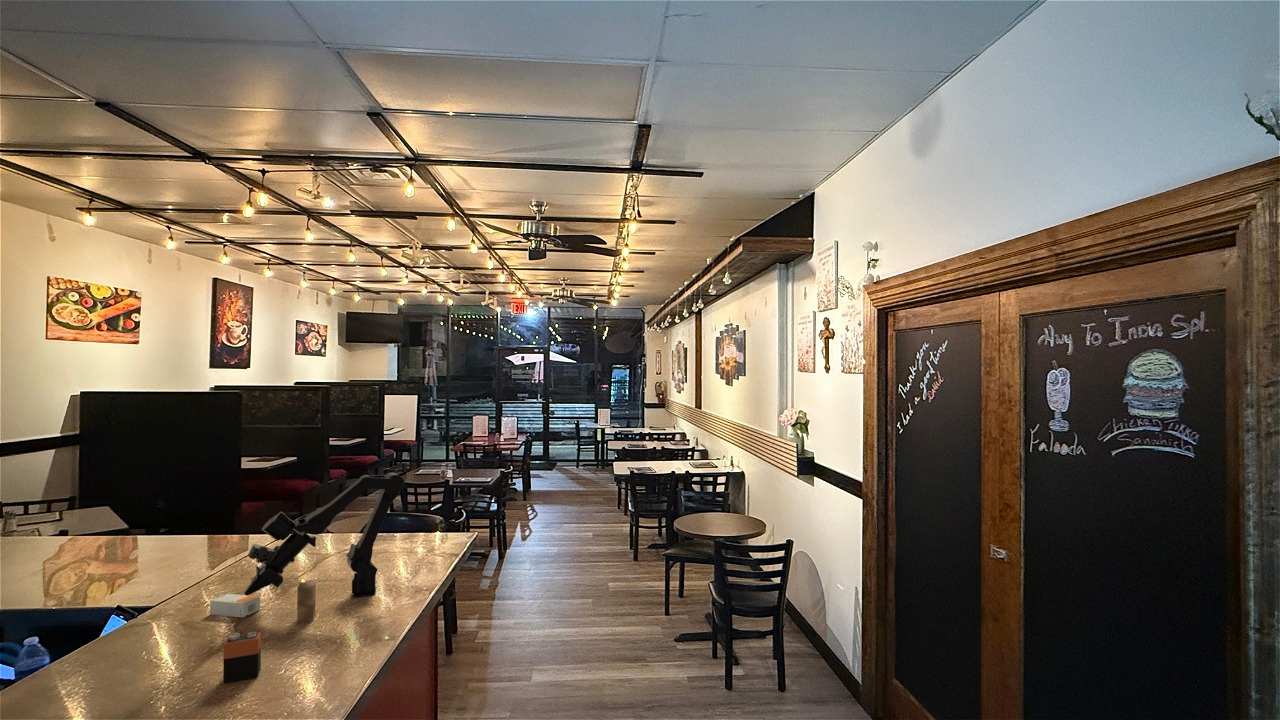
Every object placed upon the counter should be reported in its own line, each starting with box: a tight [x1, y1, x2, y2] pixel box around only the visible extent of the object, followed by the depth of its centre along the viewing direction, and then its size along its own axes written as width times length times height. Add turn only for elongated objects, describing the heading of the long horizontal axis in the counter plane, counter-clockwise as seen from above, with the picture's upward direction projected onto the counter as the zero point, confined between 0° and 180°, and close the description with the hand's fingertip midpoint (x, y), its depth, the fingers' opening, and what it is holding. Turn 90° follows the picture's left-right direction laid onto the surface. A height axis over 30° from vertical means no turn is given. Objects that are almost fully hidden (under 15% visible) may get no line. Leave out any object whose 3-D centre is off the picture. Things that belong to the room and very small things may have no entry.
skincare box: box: [209, 593, 261, 618], centre depth 178 cm, size 6×4×12 cm
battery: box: [222, 631, 262, 684], centre depth 140 cm, size 4×7×10 cm, turn 114°
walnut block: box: [296, 581, 317, 624], centre depth 172 cm, size 4×4×10 cm
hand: (245, 594), depth 174 cm, fingers closed
